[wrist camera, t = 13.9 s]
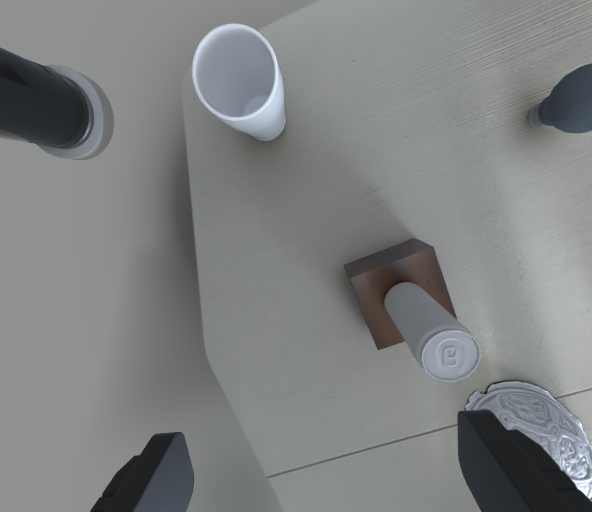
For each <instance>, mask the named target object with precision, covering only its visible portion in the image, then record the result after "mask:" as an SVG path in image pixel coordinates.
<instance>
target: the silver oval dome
mask: <svg viewBox="0 0 592 512" xmlns="http://www.w3.org/2000/svg"><path fill="white" fill-rule="evenodd" d="M487 391H488V393H487V394H481V393H479V392H478V391H476V392H474V393H473V394H474V395H471V397H470V398H469V400H470V401H471V402H470V401H469V402H470V403H467V405H466V406H465V408H466V411H469V410H482V409H489V410H491V411H492V412H493V413H494V414H495V416H496V417H497V418H498V419H499V421H500V422H501V423H502V424H503V425H504V427H505V428H506V429H507V430H514V429H518V430H519V431H521V432H522V433H523V434H525V435H526V436H528V437H529V438H531V439H532V440H534V441H535V442H536V443H538V444H539V445H541V446H542V447H543V448H544V450H545V451H546V452H547V453H548V454H549V455H550V456H551V457H552V459H553V460H554V461H555V462H556V463H557V464H558V465H559V466H560V469H561V471H564V472H565V473H566V474H567V475H568V476H569V477H570V479H571V480H572V481H573V482H574V483H575V484H576V487H577V489H578V490H581V491H582V492H583V493H584V494H585V495H586V496H587V498H588V499H590V498H591V495H592V447H591V444H590V443H589V441H588V438H587V436H586V435H585V432H584V429H582V424H581V422H580V421H579V419H578V418H577V417H575V416H572V415H571V413H569V411H567V410H566V409H565V407H563V406H562V405H561V404H560V403H559V402H557V401H556V399H554V398H552V396H551V394H549V392H547V391H545V390H543V389H542V388H540V387H539V386H534V385H532V384H528V383H526V382H524V383H522V382H519V381H516V382H514V381H512V382H502V383H498V384H496V385H495V384H492V386H489V389H488V390H487ZM480 394H481V395H480ZM482 396H483V397H482Z"/></svg>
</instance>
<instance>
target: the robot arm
mask: <svg viewBox="0 0 592 512" xmlns="http://www.w3.org/2000/svg"><path fill="white" fill-rule="evenodd" d="M42 66H43V65H41V66H40V64H38V65H37V63H35V62H32V61H29V60H26V59H24V58H22V57H20V56H18V55H15V54H13V53H11V52H9V51H7V50H4V49H2V48H0V138H5V139H11V140H17V141H23V142H29V143H35V144H40V145H46V146H51V147H54V148H60V149H72V148H76V147H78V146H80V145H81V144H83V143H84V142H85V141H86V140H87V139H88V137H89V136H90V134H91V132H92V129H93V124H94V112H93V107H92V104H91V101H90V99H89V97H88V95H87V94H86V92H85V91H84V90H83V89H82V87H81V86H80V85H79V84H77V83H76V82H75V81H73V80H71V79H70V78H68V77H65V76H63V75H61V74H57V73H55V72H52V71H50V70H48V69H46V68H48V67H46V66H43V67H42ZM44 67H46V68H44ZM49 69H51V68H49ZM52 70H53V69H52ZM54 71H55V70H54ZM458 457H459V463H460V467H461V470H462V473H463V476H464V479H465V481H466V483H467V485H468V487H469V489H470V491H471V493H472V495H473V497H474V498H475V500H476V502H477V504H478V506H479V508H480V510H481V512H592V502H591V501H590V500H589V499H588V498H587V496H586V495H585V494H584V493H583V492H582V491H581V490H578V489H577V487H576V484H575V483H574V482H573V481H572V480H571V479H570V477H569V476H568V475H567V474H566V473H565V472H564V471H561V469H560V466H559V465H558V464H557V463H556V462H555V461H554V460H553V459H552V457H551V456H550V455H549V454H548V453H547V452H546V451H545V450H544V448H543V447H542V446H541V445H539V444H538V443H536V442H535V441H534V440H532V439H531V438H529V437H528V436H526V435H525V434H523V433H522V432H521V431H519V430H518V429H514V430H507V429H506V428H505V427H504V425H503V424H502V423H501V422H500V421H499V419H498V418H497V417H496V416H495V414H494V413H493V412H492V411H491V410H489V409H482V410H469V411H459V413H458ZM193 487H194V472H193V468H192V464H191V460H190V456H189V452H188V448H187V445H186V441H185V437H184V435H183V433H182V432H173V433H160V434H155V435H154V436H152V438H151V439H150V440H149V442H148V444H147V445H146V447H145V448H144V450H143V451H142V453H141V454H140V455H138V456H134V457H133V458H132V459H131V460H130V461H129V462H127V463H126V464H125V465H124V466H123V467H122V468H121V469H120V470H119V471H118V472H117V473H116V474H115V476H114V477H113V479H112V480H111V482H110V483H109V485H108V486H107V487H106V489H105V490H104V492H103V495H102V497H100V498H99V499H98V501H97V502H96V504H95V505H94V506H93V508H92V509H91V512H186V510H187V507H188V505H189V502H190V499H191V496H192V492H193Z"/></svg>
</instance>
